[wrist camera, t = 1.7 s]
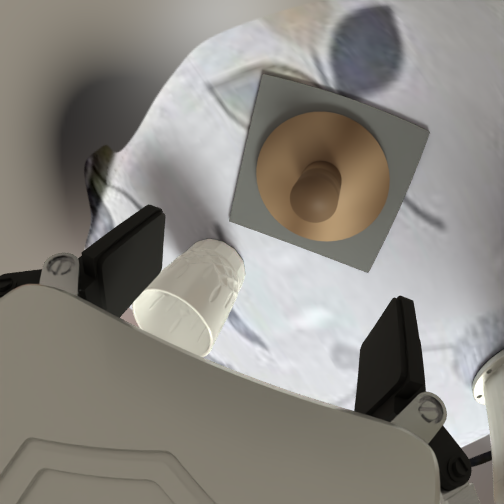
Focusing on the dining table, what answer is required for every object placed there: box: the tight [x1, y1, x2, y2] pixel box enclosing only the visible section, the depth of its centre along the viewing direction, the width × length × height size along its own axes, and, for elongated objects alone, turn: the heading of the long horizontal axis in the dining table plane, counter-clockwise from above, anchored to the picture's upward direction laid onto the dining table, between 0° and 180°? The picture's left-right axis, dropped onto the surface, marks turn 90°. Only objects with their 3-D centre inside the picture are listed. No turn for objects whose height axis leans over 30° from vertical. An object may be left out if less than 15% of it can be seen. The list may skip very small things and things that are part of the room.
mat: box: [229, 74, 430, 273], centre depth 25 cm, size 14×14×1 cm
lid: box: [256, 112, 390, 241], centre depth 22 cm, size 11×11×6 cm
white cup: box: [132, 239, 246, 357], centre depth 29 cm, size 8×8×10 cm
